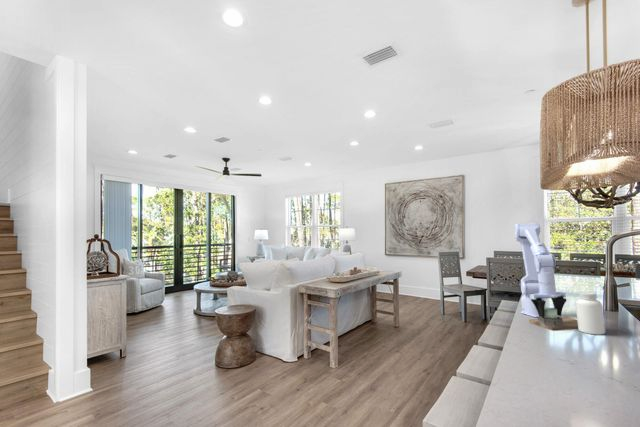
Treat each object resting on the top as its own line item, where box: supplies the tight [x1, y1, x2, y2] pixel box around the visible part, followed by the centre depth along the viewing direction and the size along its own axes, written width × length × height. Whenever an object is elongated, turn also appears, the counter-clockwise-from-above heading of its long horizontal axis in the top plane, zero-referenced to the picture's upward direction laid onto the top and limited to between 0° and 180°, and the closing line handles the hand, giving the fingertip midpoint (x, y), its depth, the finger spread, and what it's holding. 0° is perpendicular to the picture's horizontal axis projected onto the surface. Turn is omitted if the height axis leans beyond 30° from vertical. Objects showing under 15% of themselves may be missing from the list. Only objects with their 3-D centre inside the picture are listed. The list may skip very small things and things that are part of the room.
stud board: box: [528, 315, 578, 331], centre depth 132 cm, size 12×18×4 cm, turn 96°
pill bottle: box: [575, 291, 606, 335], centre depth 122 cm, size 8×8×15 cm
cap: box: [544, 306, 559, 320], centre depth 130 cm, size 5×5×4 cm
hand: (550, 315), depth 130 cm, fingers open, 7 cm apart
